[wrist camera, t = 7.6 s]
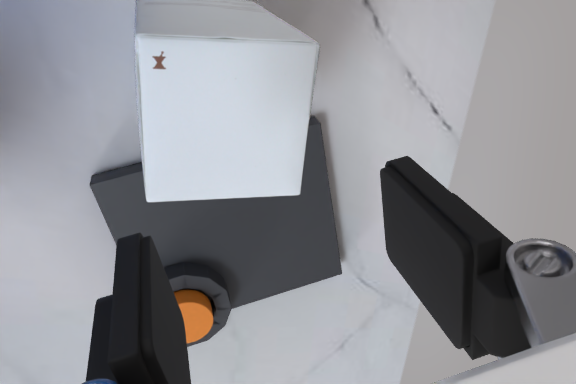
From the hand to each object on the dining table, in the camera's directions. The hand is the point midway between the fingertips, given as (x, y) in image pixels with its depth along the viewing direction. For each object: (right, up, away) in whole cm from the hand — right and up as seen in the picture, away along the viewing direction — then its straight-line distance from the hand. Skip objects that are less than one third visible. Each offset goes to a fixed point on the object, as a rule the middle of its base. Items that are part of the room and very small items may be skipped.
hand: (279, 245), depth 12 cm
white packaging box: (-6, +10, +18) cm, 22 cm away
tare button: (-8, -8, +24) cm, 26 cm away
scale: (-4, -1, +25) cm, 25 cm away
